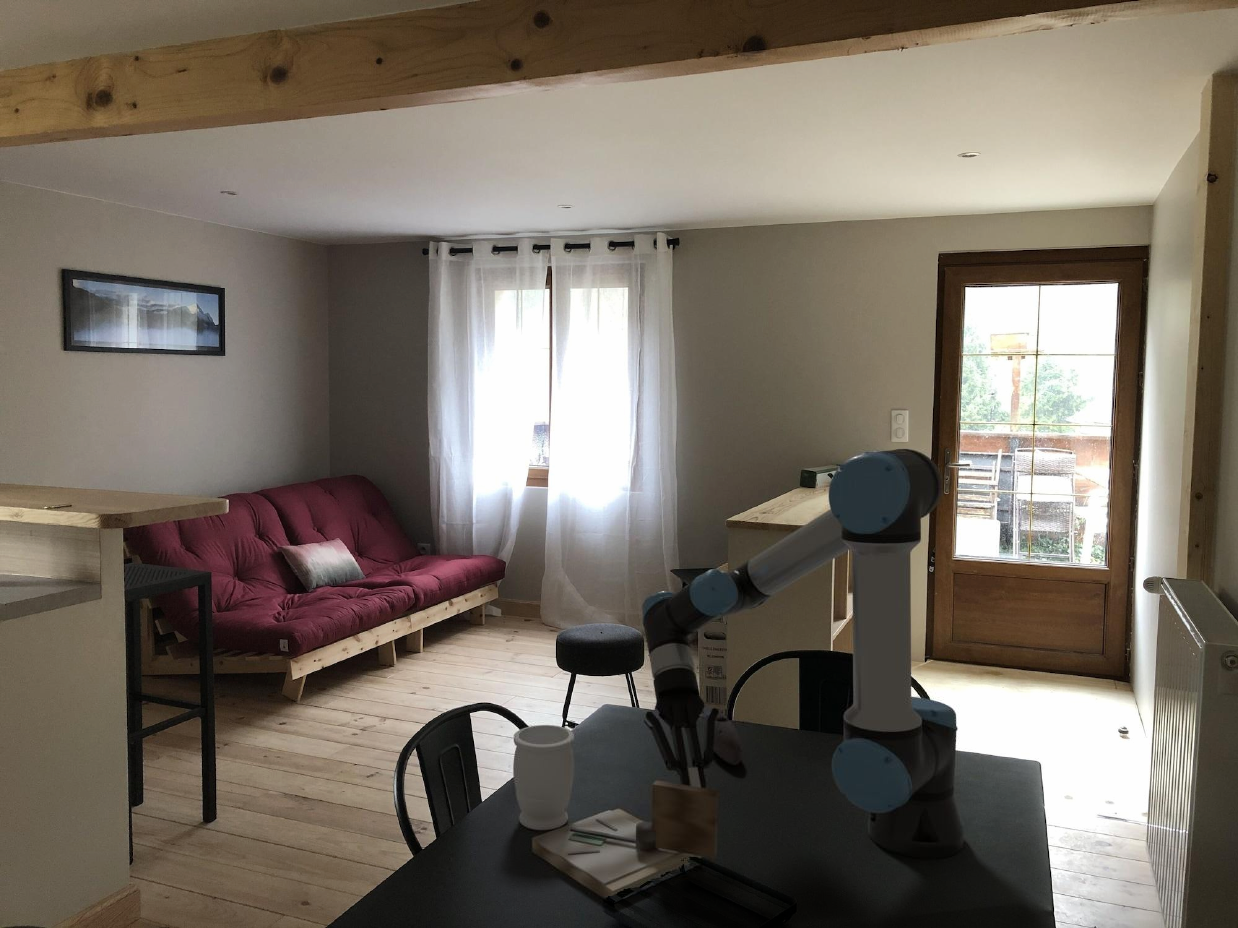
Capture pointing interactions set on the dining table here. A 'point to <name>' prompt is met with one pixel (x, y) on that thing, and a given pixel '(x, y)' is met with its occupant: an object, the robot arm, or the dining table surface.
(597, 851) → the light wood flat board
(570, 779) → the jar
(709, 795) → the peg
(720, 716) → the perforated stone tool
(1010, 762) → the dining table surface
